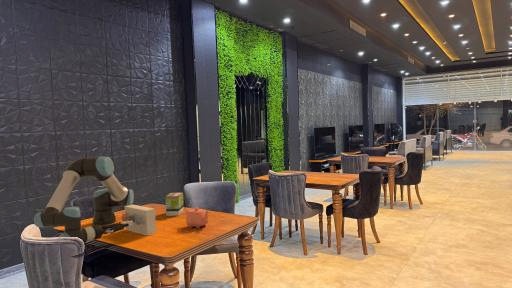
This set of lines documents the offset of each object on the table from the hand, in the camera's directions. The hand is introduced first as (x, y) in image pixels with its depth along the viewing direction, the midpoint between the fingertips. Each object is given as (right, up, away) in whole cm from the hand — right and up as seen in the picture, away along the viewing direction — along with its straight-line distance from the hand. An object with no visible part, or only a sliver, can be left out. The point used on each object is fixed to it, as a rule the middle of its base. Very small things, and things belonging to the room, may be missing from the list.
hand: (132, 223), depth 210 cm
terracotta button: (-10, -2, +14) cm, 17 cm away
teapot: (+35, -7, +20) cm, 41 cm away
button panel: (0, -8, +14) cm, 16 cm away
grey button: (-3, -2, +9) cm, 10 cm away
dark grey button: (+3, -2, +4) cm, 5 cm away
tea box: (+12, -6, +59) cm, 60 cm away
